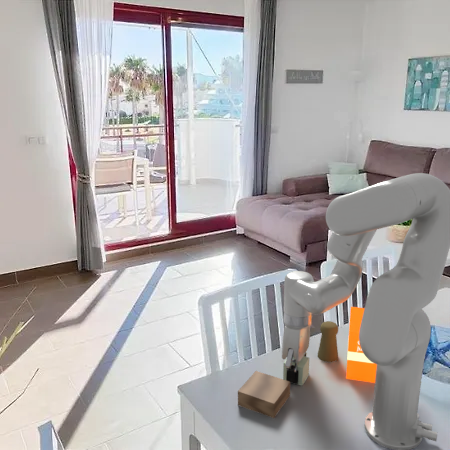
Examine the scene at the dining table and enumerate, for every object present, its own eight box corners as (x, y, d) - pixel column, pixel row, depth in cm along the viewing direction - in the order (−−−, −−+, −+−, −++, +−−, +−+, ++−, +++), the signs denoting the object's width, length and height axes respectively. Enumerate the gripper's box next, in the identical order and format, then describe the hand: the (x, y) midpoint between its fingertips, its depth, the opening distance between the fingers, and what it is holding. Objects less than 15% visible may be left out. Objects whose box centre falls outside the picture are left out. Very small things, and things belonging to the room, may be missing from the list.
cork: (336, 351, 140) (338, 318, 137) (339, 362, 134) (341, 329, 131) (316, 350, 140) (318, 318, 137) (318, 361, 135) (320, 328, 131)
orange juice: (346, 363, 134) (350, 300, 128) (378, 367, 131) (384, 304, 126) (345, 379, 126) (350, 313, 121) (379, 384, 124) (385, 317, 118)
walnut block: (290, 396, 120) (290, 381, 119) (273, 419, 112) (274, 403, 111) (255, 385, 125) (255, 370, 124) (237, 406, 117) (237, 391, 116)
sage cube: (308, 374, 129) (309, 357, 127) (302, 385, 124) (302, 368, 122) (290, 369, 131) (290, 352, 130) (283, 380, 126) (283, 362, 125)
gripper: (295, 301, 131) (293, 357, 136) (272, 328, 117) (271, 389, 122) (321, 306, 128) (318, 363, 133) (300, 335, 113) (298, 397, 119)
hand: (296, 375), depth 127 cm, fingers closed on sage cube, 5 cm apart
